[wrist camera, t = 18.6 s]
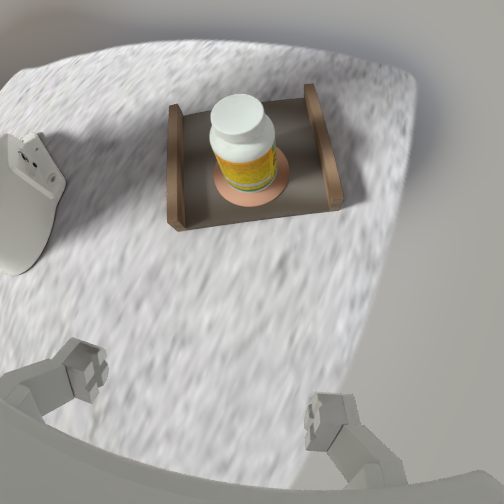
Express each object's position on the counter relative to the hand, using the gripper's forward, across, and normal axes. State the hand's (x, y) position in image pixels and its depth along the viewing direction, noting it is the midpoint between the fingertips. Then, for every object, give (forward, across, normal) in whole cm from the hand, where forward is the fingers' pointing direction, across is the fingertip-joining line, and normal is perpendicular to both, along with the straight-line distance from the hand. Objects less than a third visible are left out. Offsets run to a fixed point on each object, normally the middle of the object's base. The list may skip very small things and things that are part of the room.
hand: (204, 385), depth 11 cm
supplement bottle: (+23, +1, -5) cm, 24 cm away
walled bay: (+25, +1, -6) cm, 26 cm away
